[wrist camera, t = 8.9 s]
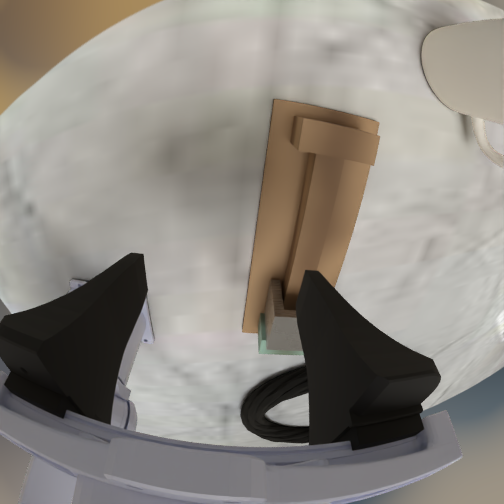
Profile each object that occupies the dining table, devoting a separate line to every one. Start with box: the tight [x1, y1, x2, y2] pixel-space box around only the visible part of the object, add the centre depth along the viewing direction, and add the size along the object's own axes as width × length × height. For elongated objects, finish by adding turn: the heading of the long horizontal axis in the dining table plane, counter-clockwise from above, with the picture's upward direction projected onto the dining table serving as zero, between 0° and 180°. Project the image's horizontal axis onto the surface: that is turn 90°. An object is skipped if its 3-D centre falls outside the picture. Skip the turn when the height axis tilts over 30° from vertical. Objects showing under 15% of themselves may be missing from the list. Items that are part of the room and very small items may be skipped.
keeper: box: [264, 279, 303, 351], centre depth 23 cm, size 4×4×5 cm
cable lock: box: [240, 367, 309, 443], centre depth 36 cm, size 28×4×30 cm
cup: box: [421, 18, 504, 168], centre depth 10 cm, size 8×12×10 cm
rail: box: [242, 99, 380, 355], centre depth 21 cm, size 8×22×4 cm, turn 173°
